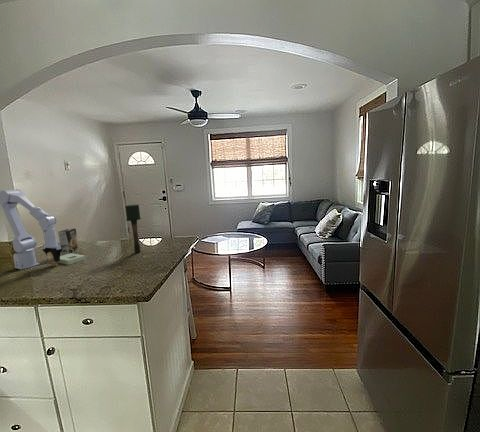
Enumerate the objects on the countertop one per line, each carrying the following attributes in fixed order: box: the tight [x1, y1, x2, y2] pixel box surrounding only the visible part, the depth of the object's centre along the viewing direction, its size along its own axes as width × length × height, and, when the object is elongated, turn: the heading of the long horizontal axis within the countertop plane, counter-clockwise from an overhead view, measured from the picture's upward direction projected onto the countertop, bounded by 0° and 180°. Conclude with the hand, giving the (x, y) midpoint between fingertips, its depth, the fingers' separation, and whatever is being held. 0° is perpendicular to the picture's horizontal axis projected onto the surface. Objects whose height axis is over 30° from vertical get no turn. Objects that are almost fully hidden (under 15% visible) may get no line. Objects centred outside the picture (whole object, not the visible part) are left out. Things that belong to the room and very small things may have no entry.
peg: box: [46, 252, 60, 268], centre depth 158 cm, size 6×6×8 cm
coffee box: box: [57, 228, 80, 256], centre depth 180 cm, size 9×6×16 cm
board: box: [58, 253, 87, 266], centre depth 166 cm, size 10×15×2 cm, turn 61°
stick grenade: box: [124, 204, 142, 254], centre depth 174 cm, size 8×9×30 cm
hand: (54, 260), depth 158 cm, fingers closed on peg, 6 cm apart
